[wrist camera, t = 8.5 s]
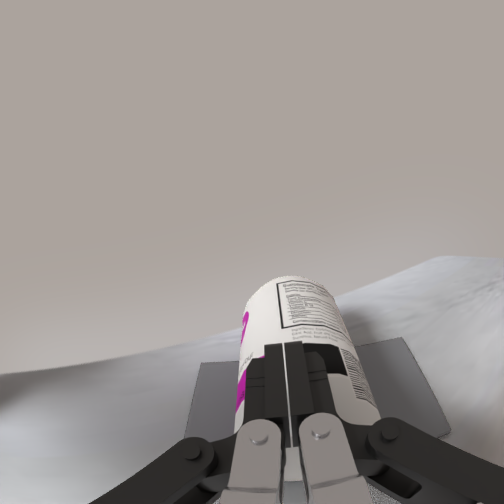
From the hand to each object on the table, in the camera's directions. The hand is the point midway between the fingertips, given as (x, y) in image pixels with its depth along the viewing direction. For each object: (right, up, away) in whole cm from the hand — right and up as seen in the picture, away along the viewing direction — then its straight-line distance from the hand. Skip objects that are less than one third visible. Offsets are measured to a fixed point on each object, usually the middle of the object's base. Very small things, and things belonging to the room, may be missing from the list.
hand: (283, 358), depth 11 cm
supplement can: (+2, -7, 0) cm, 7 cm away
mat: (+4, -8, +9) cm, 12 cm away
